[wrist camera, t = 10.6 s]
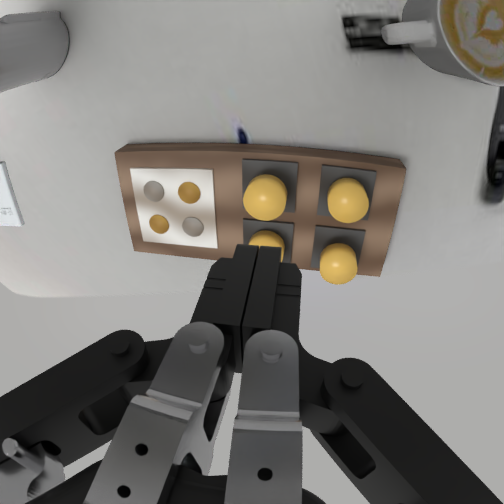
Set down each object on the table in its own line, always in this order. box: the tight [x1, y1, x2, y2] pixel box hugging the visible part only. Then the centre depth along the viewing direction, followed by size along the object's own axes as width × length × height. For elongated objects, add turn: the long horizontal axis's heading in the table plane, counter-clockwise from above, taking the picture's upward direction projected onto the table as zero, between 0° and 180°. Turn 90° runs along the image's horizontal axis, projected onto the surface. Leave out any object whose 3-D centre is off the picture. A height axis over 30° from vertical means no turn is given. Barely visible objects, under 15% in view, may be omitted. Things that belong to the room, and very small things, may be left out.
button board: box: [115, 143, 406, 277], centre depth 36 cm, size 14×32×4 cm, turn 90°
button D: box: [320, 243, 357, 284], centre depth 34 cm, size 4×4×2 cm
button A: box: [243, 174, 287, 221], centre depth 31 cm, size 4×4×2 cm
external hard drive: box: [0, 162, 24, 226], centre depth 44 cm, size 2×8×12 cm
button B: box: [249, 230, 285, 262], centre depth 36 cm, size 4×4×2 cm
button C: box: [327, 178, 369, 223], centre depth 30 cm, size 4×4×2 cm
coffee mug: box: [381, 0, 504, 86], centre depth 18 cm, size 13×10×10 cm
